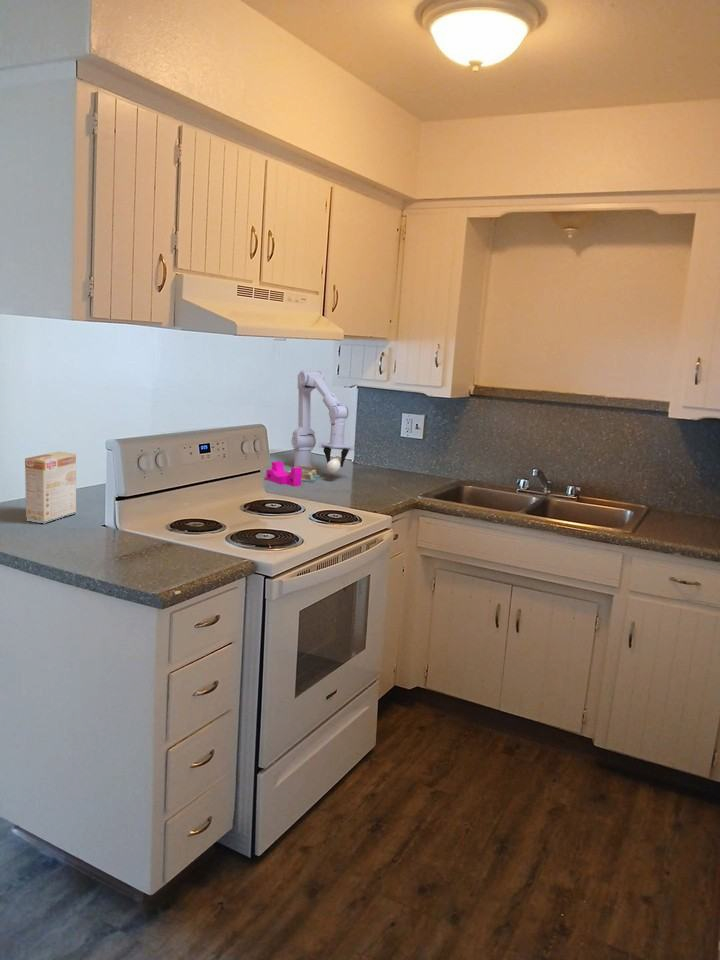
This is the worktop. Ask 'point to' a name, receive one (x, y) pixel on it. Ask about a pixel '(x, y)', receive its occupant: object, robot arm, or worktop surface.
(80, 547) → the worktop surface
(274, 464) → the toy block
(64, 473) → the coffeecake box
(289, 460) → the worktop surface
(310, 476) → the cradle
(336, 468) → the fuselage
